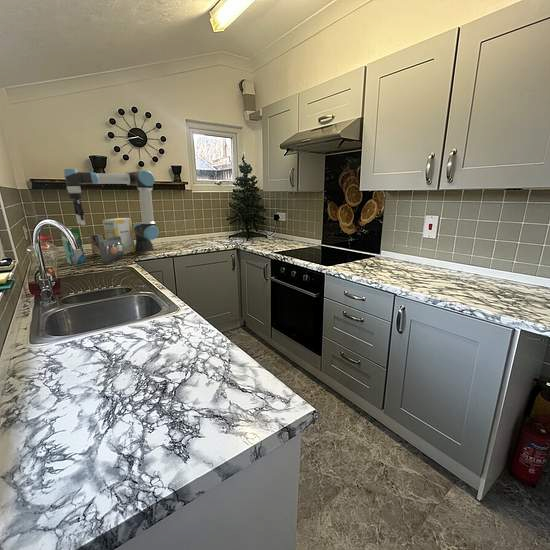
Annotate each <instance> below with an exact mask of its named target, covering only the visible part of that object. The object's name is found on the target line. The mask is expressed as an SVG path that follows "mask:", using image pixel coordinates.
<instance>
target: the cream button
mask: <svg viewBox="0 0 550 550" xmlns="http://www.w3.org/2000/svg"><path fill="white" fill-rule="evenodd" d="M116 248H117V251H122V249H123V248H122V246H121V245H116Z"/></svg>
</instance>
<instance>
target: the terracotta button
mask: <svg viewBox="0 0 550 550" xmlns="http://www.w3.org/2000/svg"><path fill="white" fill-rule="evenodd" d="M110 253H111V254H113V253H117V248H116V247H111V248H110Z"/></svg>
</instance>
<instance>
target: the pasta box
mask: <svg viewBox="0 0 550 550" xmlns="http://www.w3.org/2000/svg"><path fill="white" fill-rule="evenodd" d="M102 225H103V230H104V238H105V240H106V239H109V238H112V237H115V236H121V242H122V243H126V244H127V249H123V254H125V255H128V254H127V253H129V254H131V253H130V252H132V253H134V252H133V251H136V250H135V244H136V242H135V236H134V229H133V225H132V218H131V217H117V218H109V219H103V220H102ZM136 252H137V251H136Z"/></svg>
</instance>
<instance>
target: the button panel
mask: <svg viewBox="0 0 550 550" xmlns="http://www.w3.org/2000/svg"><path fill="white" fill-rule="evenodd" d="M121 243H122V242H121V236H115V237H112V238H109V239H106V238H105V240H102V241H99V242H98V245H99V250H100V255H99V256H100V259H101V260H98V261H95V262H96V263H95V264H96V265H98V264H97V263H109V264H111V263H113V262H115V261H114V260H116V261H117V259H118V260H120V259H122V258H124V257H125V255H124V254H123V249H122V251H117V253H113V254H111V253H110V248H111V247H116V245H121ZM123 256H124V257H123ZM121 257H122V258H121ZM119 258H120V259H119ZM112 261H113V262H112ZM110 262H111V263H110Z"/></svg>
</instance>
